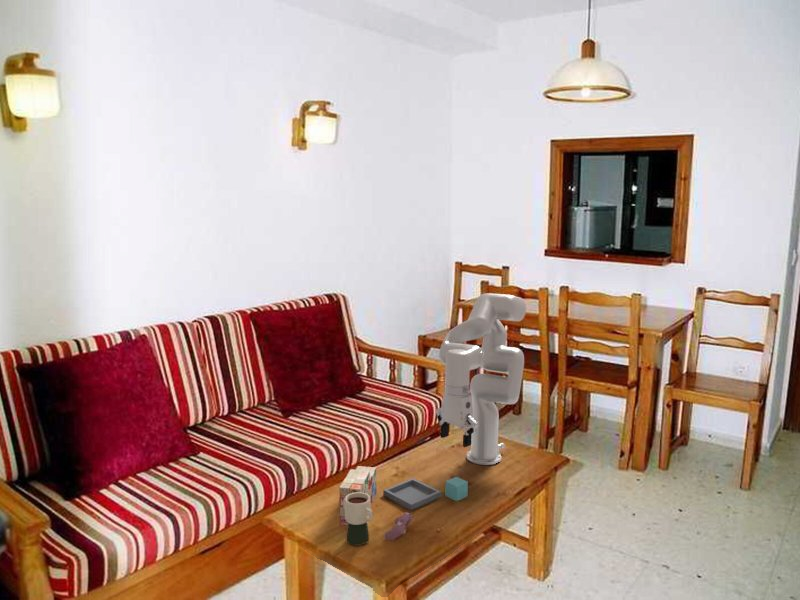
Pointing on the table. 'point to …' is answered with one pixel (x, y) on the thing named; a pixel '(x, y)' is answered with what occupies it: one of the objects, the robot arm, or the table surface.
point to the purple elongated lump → (399, 526)
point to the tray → (412, 494)
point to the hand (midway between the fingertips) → (455, 441)
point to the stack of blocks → (357, 486)
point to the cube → (456, 488)
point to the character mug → (357, 517)
